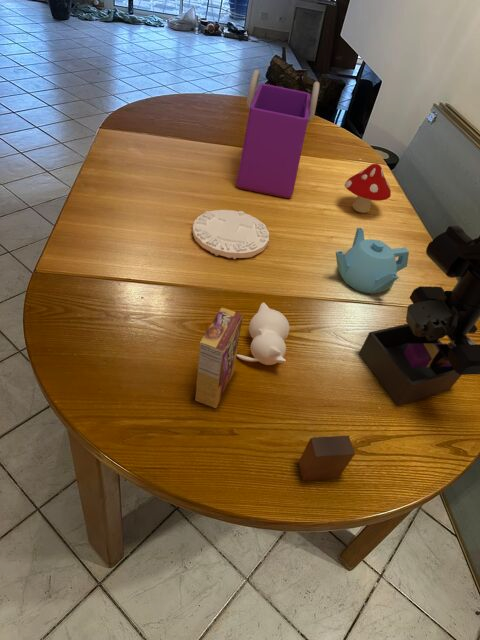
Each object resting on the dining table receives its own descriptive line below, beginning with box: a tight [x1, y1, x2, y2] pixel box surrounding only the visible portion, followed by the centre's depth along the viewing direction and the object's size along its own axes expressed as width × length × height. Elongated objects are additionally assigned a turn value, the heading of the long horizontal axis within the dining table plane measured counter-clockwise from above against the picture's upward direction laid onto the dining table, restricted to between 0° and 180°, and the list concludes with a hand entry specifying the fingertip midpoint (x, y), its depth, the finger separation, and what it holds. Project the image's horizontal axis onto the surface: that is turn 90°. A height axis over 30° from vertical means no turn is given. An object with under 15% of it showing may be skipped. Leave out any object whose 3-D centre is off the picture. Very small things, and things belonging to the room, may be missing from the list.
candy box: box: [194, 307, 244, 409], centre depth 70 cm, size 9×4×15 cm, turn 160°
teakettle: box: [335, 227, 410, 295], centre depth 101 cm, size 15×15×11 cm
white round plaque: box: [191, 209, 270, 260], centre depth 109 cm, size 20×20×3 cm
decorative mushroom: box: [344, 163, 392, 214], centre depth 125 cm, size 14×14×15 cm
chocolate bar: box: [404, 342, 451, 367], centre depth 77 cm, size 8×4×2 cm, turn 98°
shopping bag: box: [236, 69, 321, 199], centre depth 128 cm, size 28×22×30 cm
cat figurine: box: [236, 302, 291, 366], centre depth 81 cm, size 9×11×12 cm
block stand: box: [297, 435, 356, 482], centre depth 64 cm, size 6×3×8 cm, turn 98°
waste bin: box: [358, 323, 462, 407], centre depth 82 cm, size 13×13×6 cm
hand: (427, 358), depth 78 cm, fingers closed on chocolate bar, 4 cm apart
